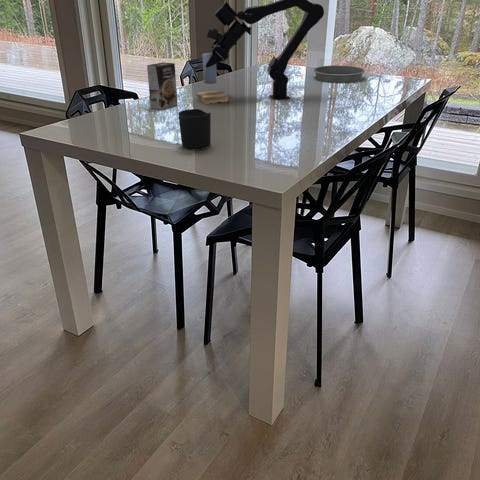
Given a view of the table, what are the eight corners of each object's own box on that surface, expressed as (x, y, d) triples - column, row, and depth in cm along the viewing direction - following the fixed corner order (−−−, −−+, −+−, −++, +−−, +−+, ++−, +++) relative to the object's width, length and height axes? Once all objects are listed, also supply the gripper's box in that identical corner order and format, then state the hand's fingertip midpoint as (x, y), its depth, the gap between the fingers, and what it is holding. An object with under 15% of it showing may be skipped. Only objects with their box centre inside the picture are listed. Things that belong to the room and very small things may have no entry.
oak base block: (228, 101, 196) (228, 95, 195) (205, 104, 193) (205, 97, 192) (219, 96, 204) (218, 90, 203) (196, 99, 201) (196, 92, 200)
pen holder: (212, 140, 151) (210, 108, 146) (211, 150, 143) (210, 116, 138) (182, 141, 151) (179, 109, 146) (179, 151, 143) (177, 117, 138)
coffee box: (161, 110, 185) (158, 66, 177) (150, 108, 188) (145, 64, 180) (178, 105, 191) (175, 63, 183) (166, 103, 194) (163, 61, 187)
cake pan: (303, 77, 242) (303, 67, 239) (344, 72, 250) (344, 63, 248) (331, 86, 222) (332, 76, 220) (374, 81, 231) (375, 71, 229)
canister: (219, 82, 197) (218, 53, 192) (210, 84, 194) (209, 55, 188) (210, 80, 200) (208, 52, 195) (201, 82, 197) (199, 54, 191)
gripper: (217, 17, 194) (191, 47, 199) (218, 21, 177) (190, 54, 182) (237, 38, 198) (211, 67, 203) (240, 44, 182) (212, 75, 187)
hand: (206, 65), depth 193 cm, fingers closed on canister, 5 cm apart
